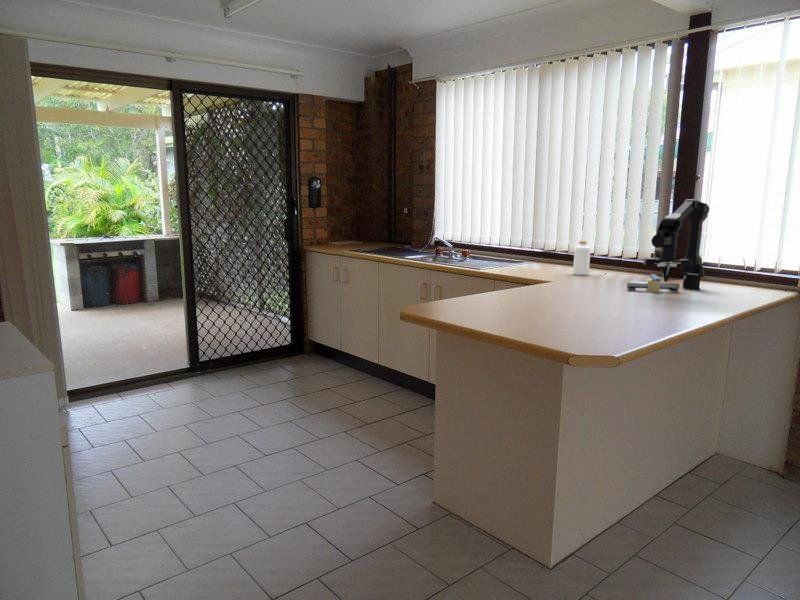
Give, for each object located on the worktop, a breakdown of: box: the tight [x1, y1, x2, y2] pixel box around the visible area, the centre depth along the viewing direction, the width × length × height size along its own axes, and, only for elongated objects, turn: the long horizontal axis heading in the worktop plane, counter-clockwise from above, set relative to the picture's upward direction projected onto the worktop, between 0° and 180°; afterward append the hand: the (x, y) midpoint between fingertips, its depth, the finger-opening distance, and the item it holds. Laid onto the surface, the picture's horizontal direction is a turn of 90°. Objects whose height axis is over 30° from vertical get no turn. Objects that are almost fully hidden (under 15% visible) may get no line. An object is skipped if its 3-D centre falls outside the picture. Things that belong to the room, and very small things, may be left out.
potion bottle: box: [572, 240, 592, 276], centre depth 307 cm, size 8×8×18 cm
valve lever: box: [649, 273, 662, 283], centre depth 254 cm, size 12×3×1 cm, turn 166°
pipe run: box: [626, 278, 680, 294], centre depth 259 cm, size 22×5×6 cm, turn 76°
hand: (665, 281), depth 250 cm, fingers closed
